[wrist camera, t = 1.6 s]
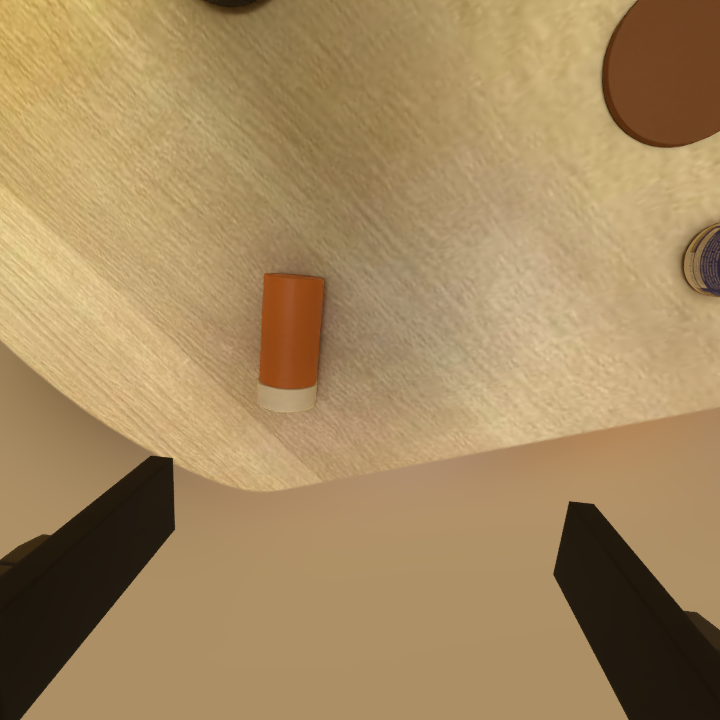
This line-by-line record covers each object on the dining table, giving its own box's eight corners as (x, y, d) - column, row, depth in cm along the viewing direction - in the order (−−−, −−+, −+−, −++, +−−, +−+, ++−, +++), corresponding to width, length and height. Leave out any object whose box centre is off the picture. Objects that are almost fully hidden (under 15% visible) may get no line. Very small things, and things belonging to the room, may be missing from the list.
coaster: (622, -29, 27) (629, -38, 26) (786, -20, 26) (797, -28, 25) (587, 141, 29) (592, 138, 28) (736, 153, 29) (745, 150, 28)
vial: (282, 273, 33) (248, 273, 29) (334, 279, 32) (307, 280, 28) (276, 389, 36) (244, 404, 31) (324, 399, 34) (298, 417, 30)
